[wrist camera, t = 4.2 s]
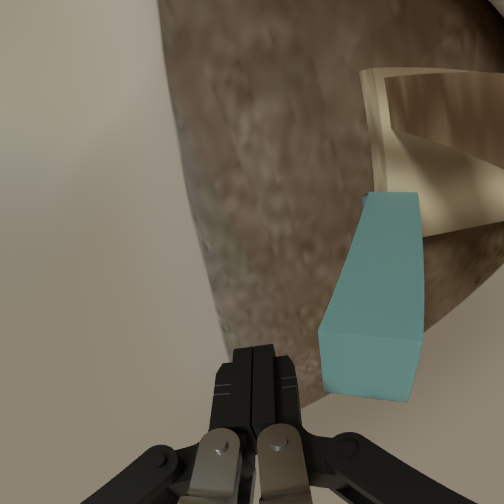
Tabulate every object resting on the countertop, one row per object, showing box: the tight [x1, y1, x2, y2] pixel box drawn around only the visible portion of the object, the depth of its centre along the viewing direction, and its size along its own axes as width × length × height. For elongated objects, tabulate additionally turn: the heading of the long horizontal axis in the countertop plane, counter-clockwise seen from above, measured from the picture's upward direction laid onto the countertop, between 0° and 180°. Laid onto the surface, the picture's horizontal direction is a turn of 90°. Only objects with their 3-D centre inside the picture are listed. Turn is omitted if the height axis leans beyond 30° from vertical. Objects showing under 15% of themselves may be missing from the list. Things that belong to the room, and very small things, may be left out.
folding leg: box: [318, 192, 424, 402], centre depth 16 cm, size 4×4×14 cm
